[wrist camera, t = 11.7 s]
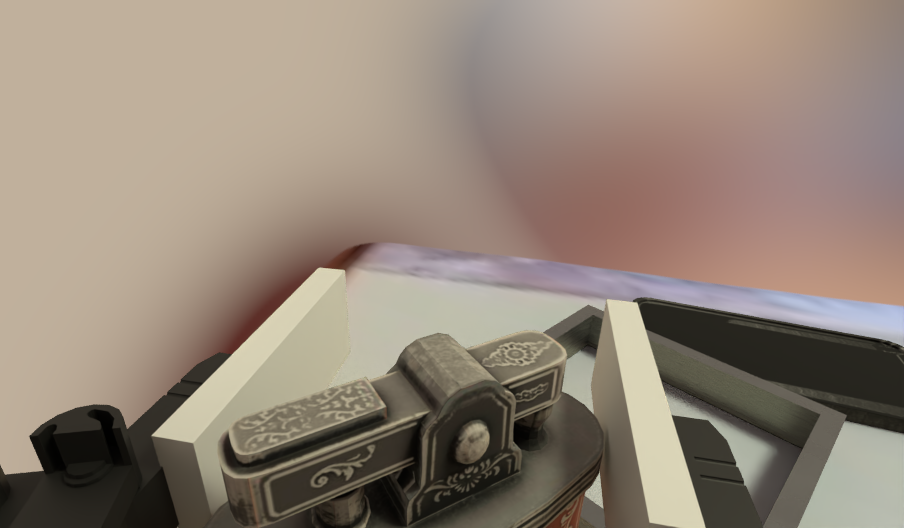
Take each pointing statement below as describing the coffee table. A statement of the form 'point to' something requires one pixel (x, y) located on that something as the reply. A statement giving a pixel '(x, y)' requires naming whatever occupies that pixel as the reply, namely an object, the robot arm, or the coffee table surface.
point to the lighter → (421, 445)
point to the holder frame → (728, 410)
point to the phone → (794, 358)
